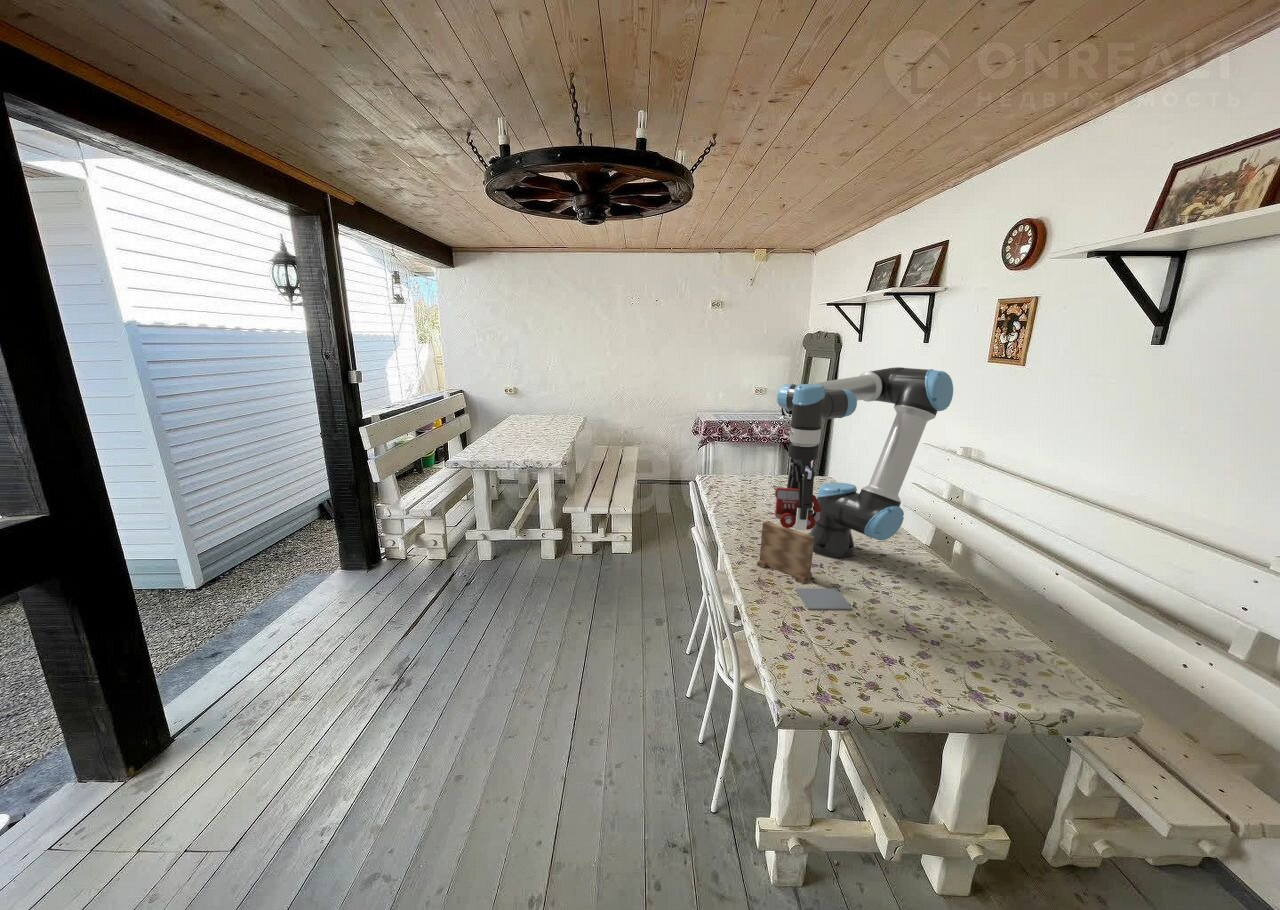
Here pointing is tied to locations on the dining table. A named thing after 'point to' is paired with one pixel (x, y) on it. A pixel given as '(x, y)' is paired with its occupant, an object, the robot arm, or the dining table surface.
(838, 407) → the robot arm
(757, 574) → the dining table surface
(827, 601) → the mat
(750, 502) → the dining table surface
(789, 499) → the toy fire truck
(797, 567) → the screen
